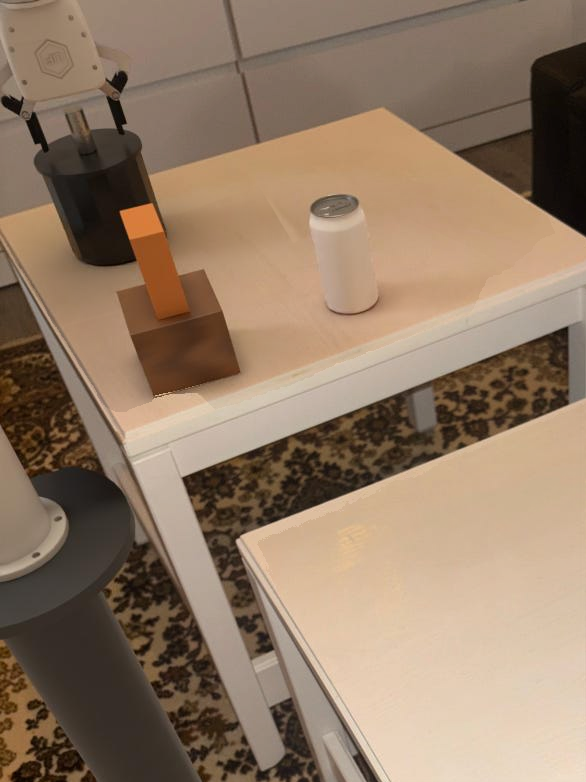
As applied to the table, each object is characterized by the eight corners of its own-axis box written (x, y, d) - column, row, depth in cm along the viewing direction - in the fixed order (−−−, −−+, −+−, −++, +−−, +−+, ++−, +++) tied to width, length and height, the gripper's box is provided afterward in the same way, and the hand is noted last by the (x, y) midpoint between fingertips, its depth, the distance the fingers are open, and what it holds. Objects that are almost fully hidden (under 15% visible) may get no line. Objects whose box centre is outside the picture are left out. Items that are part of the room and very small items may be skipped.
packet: (157, 320, 105) (129, 239, 98) (147, 290, 109) (119, 210, 103) (190, 311, 106) (163, 231, 99) (178, 282, 110) (152, 202, 103)
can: (316, 304, 120) (294, 207, 111) (357, 282, 123) (339, 186, 114) (348, 322, 117) (328, 224, 108) (390, 300, 120) (374, 202, 111)
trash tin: (79, 273, 129) (44, 186, 121) (68, 232, 137) (34, 148, 129) (173, 250, 132) (145, 162, 123) (157, 211, 140) (130, 126, 131)
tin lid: (42, 194, 121) (21, 141, 116) (32, 152, 129) (12, 102, 125) (152, 168, 123) (135, 116, 119) (135, 129, 132) (119, 79, 127)
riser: (154, 398, 110) (129, 335, 104) (139, 353, 116) (116, 291, 110) (241, 374, 112) (222, 310, 105) (222, 331, 118) (203, 268, 112)
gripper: (-51, 8, 107) (16, 167, 120) (107, -23, 111) (156, 135, 124) (-53, -11, 112) (11, 144, 125) (98, -40, 116) (146, 114, 129)
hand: (83, 139), depth 124 cm, fingers open, 9 cm apart
